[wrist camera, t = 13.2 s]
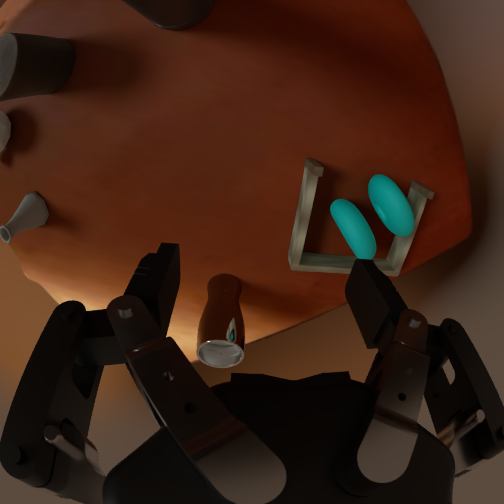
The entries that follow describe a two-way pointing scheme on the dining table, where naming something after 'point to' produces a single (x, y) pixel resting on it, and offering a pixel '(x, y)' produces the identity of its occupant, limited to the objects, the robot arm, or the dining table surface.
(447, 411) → the robot arm
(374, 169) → the dining table surface
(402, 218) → the teal diabolo
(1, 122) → the perfume bottle
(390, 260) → the box
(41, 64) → the pillar candle
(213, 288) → the beer glass
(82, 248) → the dining table surface
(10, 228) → the flask
